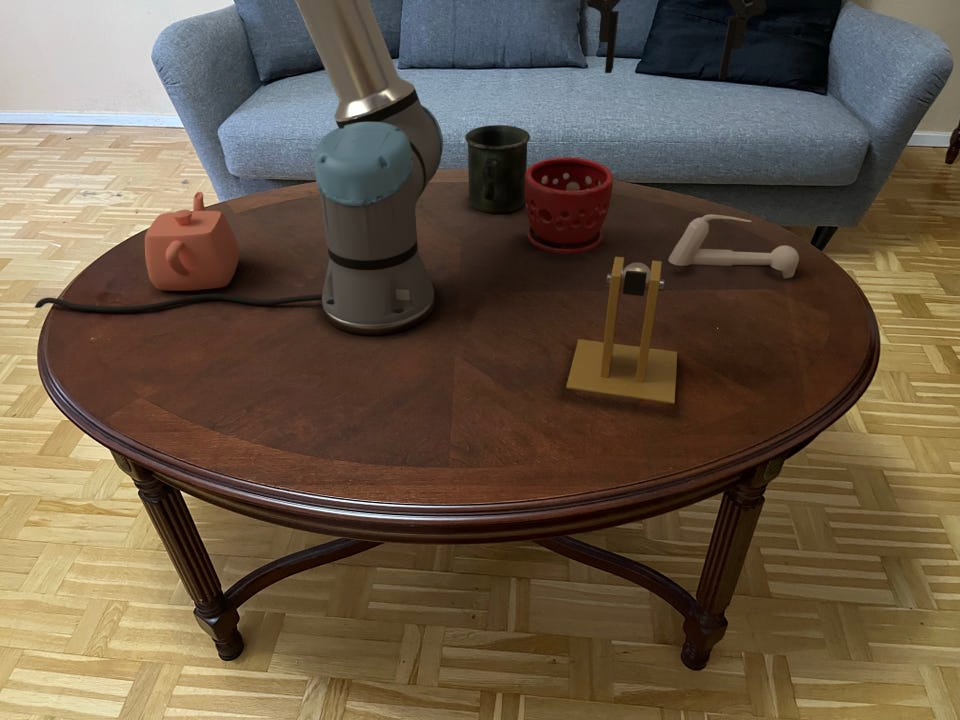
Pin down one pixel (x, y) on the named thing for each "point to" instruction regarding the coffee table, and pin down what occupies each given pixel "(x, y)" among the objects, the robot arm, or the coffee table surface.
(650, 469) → the coffee table surface
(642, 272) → the black lever with ball
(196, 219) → the teapot
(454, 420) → the coffee table surface
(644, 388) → the yellow post stand
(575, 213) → the flower pot
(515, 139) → the mug
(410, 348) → the coffee table surface
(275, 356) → the coffee table surface
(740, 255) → the faucet
